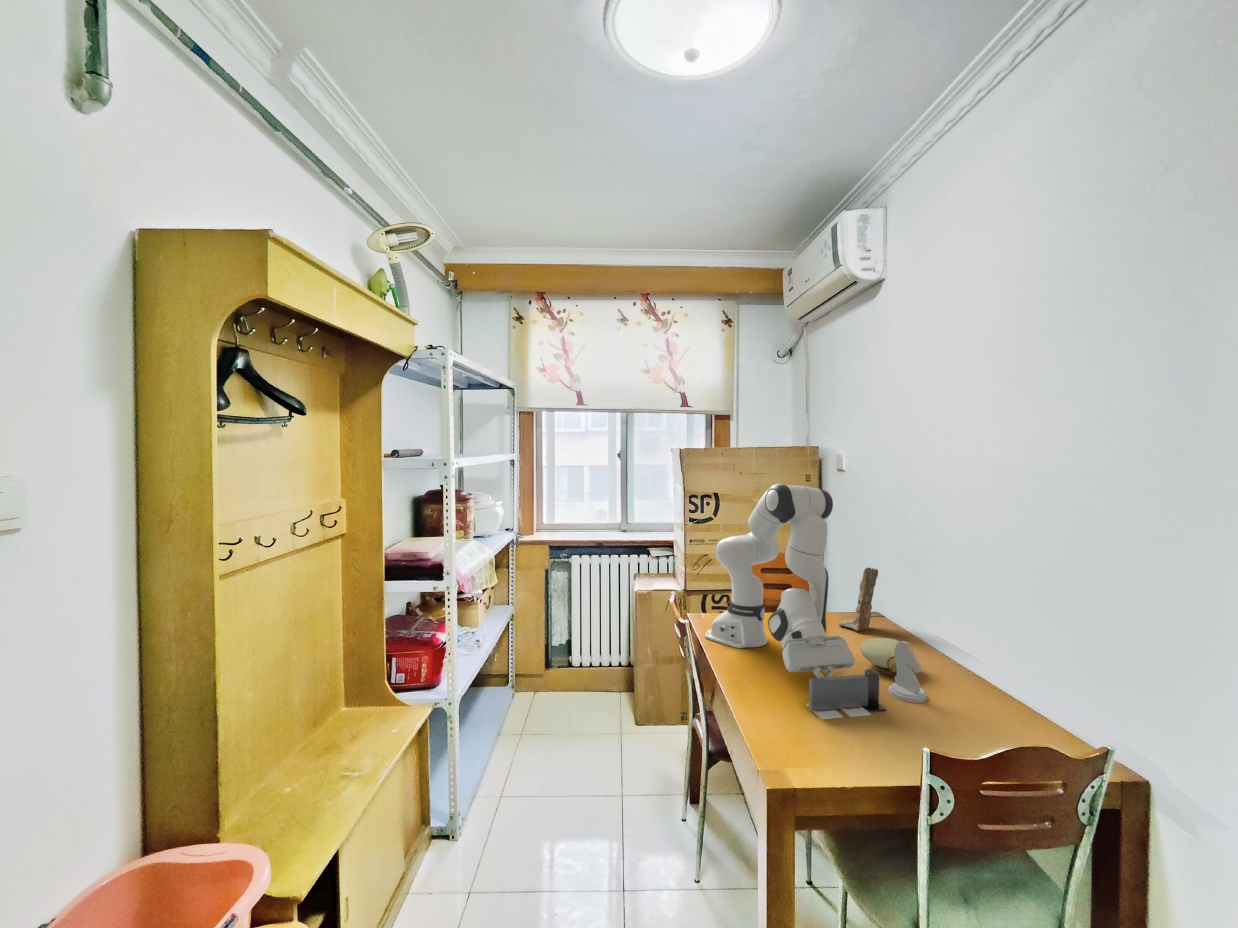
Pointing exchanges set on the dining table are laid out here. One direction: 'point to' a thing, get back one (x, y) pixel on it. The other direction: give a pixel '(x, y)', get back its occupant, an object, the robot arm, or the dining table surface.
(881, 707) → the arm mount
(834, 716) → the label plate
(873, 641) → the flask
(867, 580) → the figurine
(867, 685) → the grey panel stand
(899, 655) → the chess piece
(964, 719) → the dining table surface
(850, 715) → the label plate
